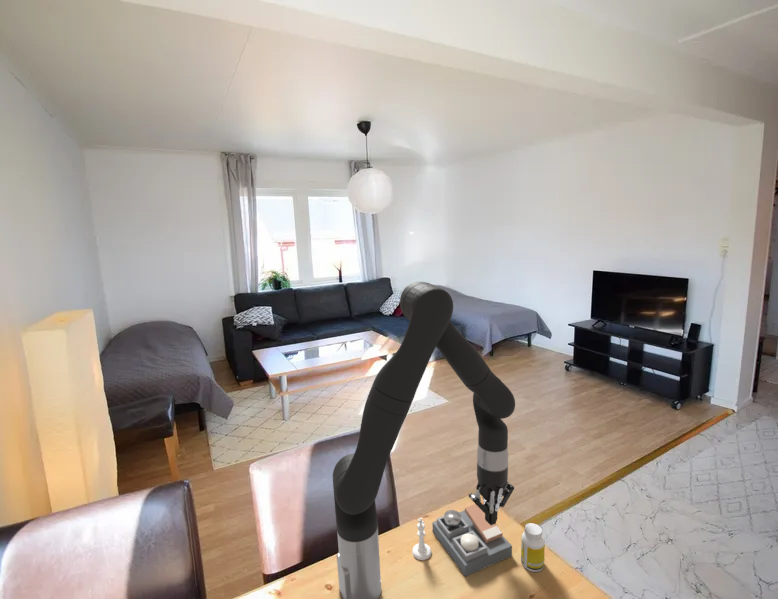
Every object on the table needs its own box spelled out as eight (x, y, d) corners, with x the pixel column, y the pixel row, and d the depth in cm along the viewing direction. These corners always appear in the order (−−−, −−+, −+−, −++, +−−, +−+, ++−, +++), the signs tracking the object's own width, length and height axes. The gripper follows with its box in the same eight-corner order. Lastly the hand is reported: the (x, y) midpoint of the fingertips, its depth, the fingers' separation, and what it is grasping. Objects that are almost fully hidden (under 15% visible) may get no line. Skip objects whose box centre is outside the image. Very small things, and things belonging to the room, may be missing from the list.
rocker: (486, 543, 103) (486, 539, 102) (464, 511, 111) (465, 507, 110) (502, 536, 105) (502, 533, 104) (479, 505, 113) (480, 502, 112)
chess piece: (424, 563, 101) (423, 528, 100) (408, 554, 104) (407, 520, 102) (434, 550, 105) (434, 516, 103) (419, 542, 108) (417, 509, 106)
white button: (467, 556, 99) (467, 549, 98) (457, 544, 103) (457, 537, 102) (482, 550, 100) (482, 543, 100) (471, 538, 104) (471, 531, 104)
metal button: (449, 530, 106) (449, 523, 105) (441, 519, 110) (441, 513, 109) (464, 524, 107) (463, 518, 107) (455, 514, 111) (455, 508, 111)
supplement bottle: (548, 566, 99) (550, 531, 97) (533, 576, 96) (534, 540, 94) (531, 551, 103) (532, 517, 102) (516, 560, 101) (516, 526, 99)
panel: (465, 576, 97) (465, 560, 96) (432, 531, 112) (432, 517, 111) (511, 556, 102) (512, 540, 102) (474, 515, 117) (474, 501, 116)
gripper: (479, 476, 94) (478, 541, 98) (523, 462, 100) (521, 524, 103) (461, 460, 101) (461, 521, 104) (503, 447, 106) (502, 505, 109)
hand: (491, 522), depth 104 cm, fingers closed
